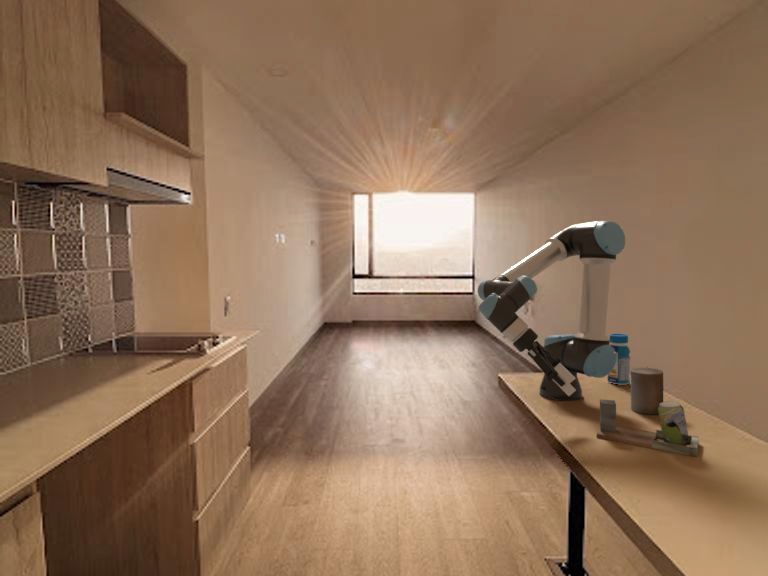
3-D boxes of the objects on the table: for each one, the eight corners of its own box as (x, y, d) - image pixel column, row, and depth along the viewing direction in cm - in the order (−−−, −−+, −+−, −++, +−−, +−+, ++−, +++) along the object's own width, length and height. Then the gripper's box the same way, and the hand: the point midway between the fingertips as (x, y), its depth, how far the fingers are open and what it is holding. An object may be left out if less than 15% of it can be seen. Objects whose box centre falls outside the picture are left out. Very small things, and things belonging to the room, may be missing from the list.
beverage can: (693, 451, 122) (694, 407, 121) (663, 449, 123) (663, 406, 123) (683, 442, 128) (683, 399, 127) (654, 440, 130) (654, 399, 129)
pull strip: (602, 426, 141) (602, 396, 140) (698, 443, 126) (699, 409, 126) (594, 436, 133) (594, 404, 132) (696, 456, 118) (697, 420, 118)
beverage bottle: (629, 386, 183) (629, 337, 182) (606, 384, 187) (606, 335, 186) (630, 381, 190) (630, 333, 189) (608, 379, 195) (608, 332, 193)
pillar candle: (670, 412, 153) (670, 367, 152) (651, 417, 148) (651, 371, 148) (642, 404, 161) (642, 362, 161) (623, 409, 157) (623, 365, 156)
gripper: (516, 336, 155) (563, 384, 151) (506, 350, 132) (562, 407, 128) (532, 321, 153) (581, 369, 148) (525, 333, 130) (583, 390, 125)
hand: (572, 386), depth 138 cm, fingers open, 13 cm apart
